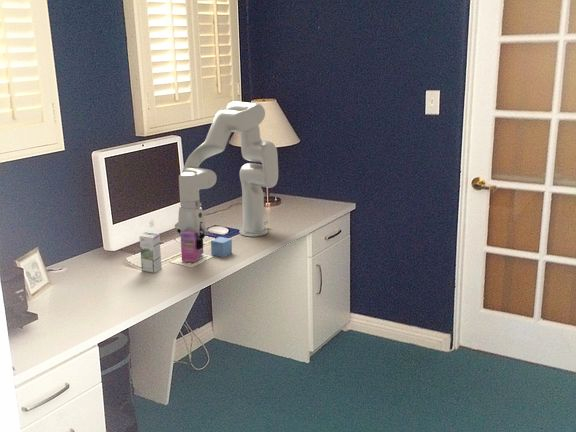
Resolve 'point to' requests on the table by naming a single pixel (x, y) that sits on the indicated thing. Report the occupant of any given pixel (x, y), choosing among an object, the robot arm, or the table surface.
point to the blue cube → (221, 246)
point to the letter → (191, 264)
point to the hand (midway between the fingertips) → (192, 246)
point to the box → (190, 246)
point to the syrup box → (150, 252)
